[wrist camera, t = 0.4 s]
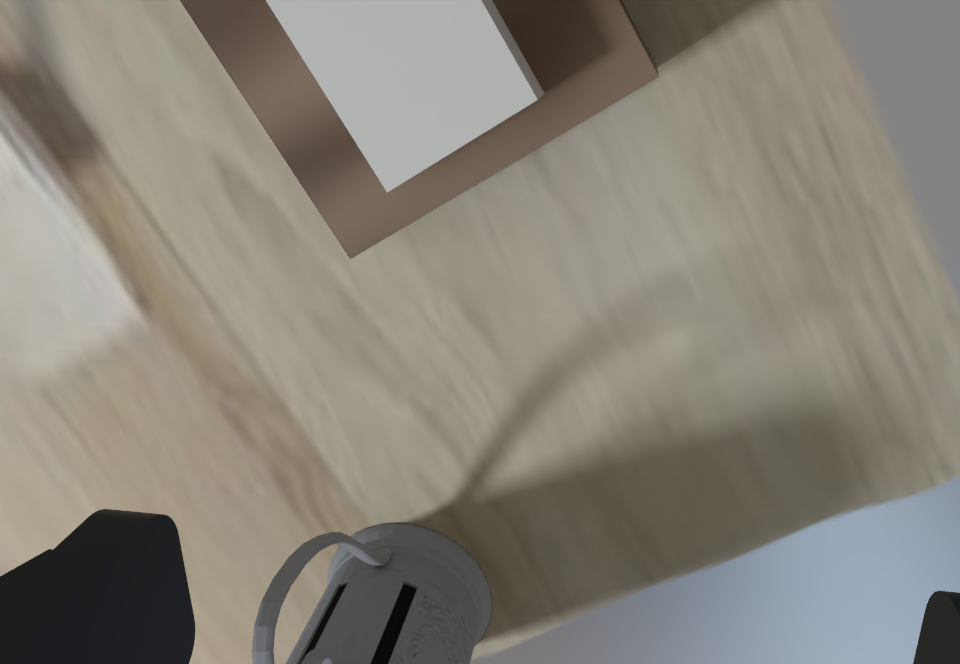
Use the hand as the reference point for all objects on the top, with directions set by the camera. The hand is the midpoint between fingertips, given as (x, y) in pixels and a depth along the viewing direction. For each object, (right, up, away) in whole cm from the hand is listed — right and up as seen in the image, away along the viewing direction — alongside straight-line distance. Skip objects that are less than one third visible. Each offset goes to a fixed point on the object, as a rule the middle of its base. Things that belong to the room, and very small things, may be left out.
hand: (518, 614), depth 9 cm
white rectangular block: (-3, +14, +19) cm, 23 cm away
